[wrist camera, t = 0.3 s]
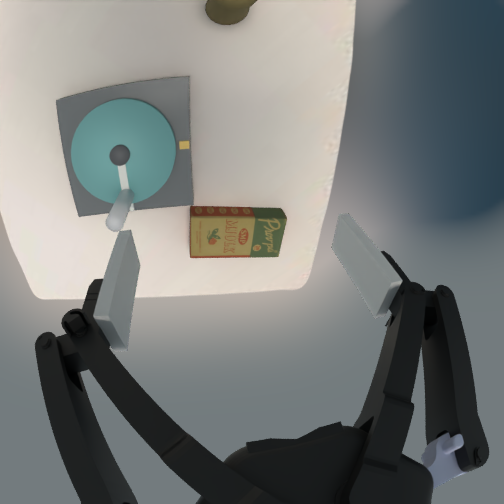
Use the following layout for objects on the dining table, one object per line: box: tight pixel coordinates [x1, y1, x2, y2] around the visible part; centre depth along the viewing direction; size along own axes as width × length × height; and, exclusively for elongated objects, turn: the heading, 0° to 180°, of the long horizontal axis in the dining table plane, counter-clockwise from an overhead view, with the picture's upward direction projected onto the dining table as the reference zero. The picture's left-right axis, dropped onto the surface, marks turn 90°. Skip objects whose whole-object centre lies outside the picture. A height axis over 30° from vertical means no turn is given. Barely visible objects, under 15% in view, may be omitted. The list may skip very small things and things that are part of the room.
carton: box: [190, 206, 287, 258], centre depth 48 cm, size 8×16×4 cm, turn 82°
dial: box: [71, 98, 176, 231], centre depth 32 cm, size 16×16×10 cm
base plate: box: [56, 76, 193, 217], centre depth 36 cm, size 20×20×2 cm
